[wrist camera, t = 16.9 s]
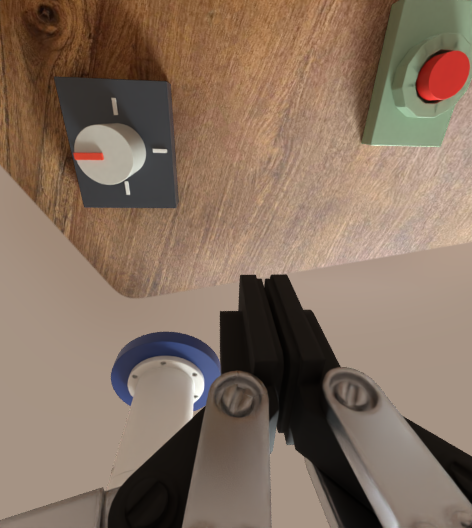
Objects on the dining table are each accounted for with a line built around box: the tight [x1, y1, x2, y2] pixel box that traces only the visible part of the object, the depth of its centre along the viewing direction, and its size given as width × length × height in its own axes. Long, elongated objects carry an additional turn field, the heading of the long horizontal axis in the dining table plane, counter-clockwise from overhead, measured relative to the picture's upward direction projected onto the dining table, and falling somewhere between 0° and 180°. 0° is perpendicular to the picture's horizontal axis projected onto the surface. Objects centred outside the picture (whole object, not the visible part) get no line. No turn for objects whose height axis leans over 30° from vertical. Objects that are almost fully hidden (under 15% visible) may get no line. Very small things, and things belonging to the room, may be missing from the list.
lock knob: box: [73, 123, 146, 185], centre depth 26 cm, size 5×5×5 cm
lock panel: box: [54, 77, 179, 208], centre depth 29 cm, size 12×10×3 cm
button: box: [416, 51, 470, 100], centre depth 25 cm, size 4×4×2 cm
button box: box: [362, 0, 472, 147], centre depth 27 cm, size 12×8×4 cm, turn 178°
